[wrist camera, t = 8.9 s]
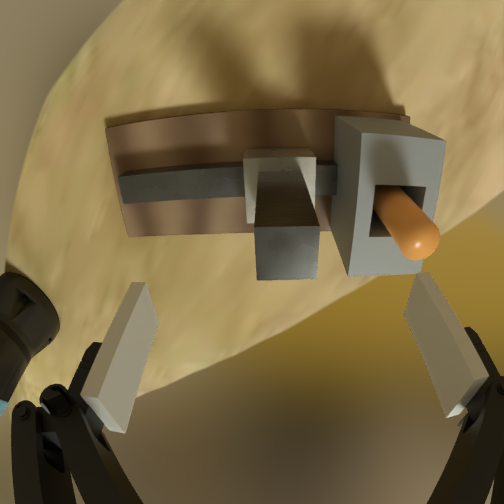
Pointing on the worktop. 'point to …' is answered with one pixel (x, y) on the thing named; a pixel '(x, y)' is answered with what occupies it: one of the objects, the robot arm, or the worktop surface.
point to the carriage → (282, 211)
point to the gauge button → (405, 222)
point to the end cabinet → (380, 173)
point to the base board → (217, 150)
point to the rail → (204, 181)
